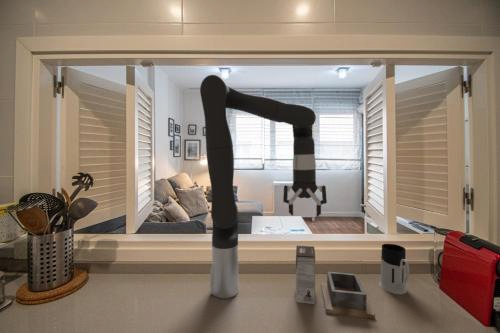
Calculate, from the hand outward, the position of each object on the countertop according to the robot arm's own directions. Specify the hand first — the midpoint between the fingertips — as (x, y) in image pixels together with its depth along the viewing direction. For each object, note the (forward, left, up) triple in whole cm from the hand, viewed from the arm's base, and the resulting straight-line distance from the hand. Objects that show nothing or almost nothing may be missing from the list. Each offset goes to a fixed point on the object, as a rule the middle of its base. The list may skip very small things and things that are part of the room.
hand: (304, 215), depth 81 cm
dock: (+13, 0, -28) cm, 31 cm away
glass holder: (+32, +9, -29) cm, 44 cm away
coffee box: (0, 0, -29) cm, 29 cm away
